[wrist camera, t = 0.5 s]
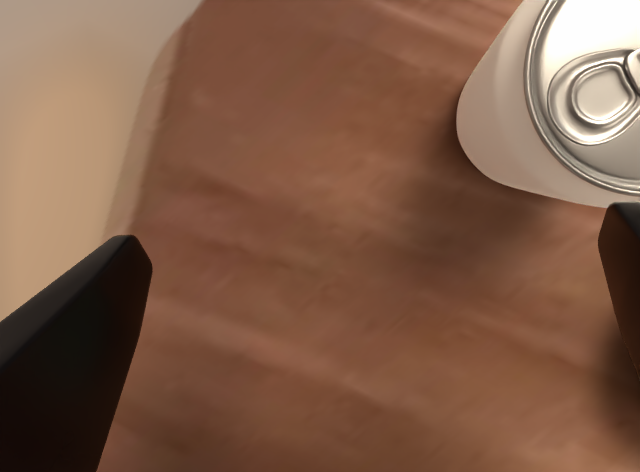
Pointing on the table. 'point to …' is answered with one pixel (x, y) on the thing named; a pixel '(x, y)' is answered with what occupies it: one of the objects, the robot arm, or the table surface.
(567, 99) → the can
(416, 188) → the table surface
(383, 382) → the table surface
